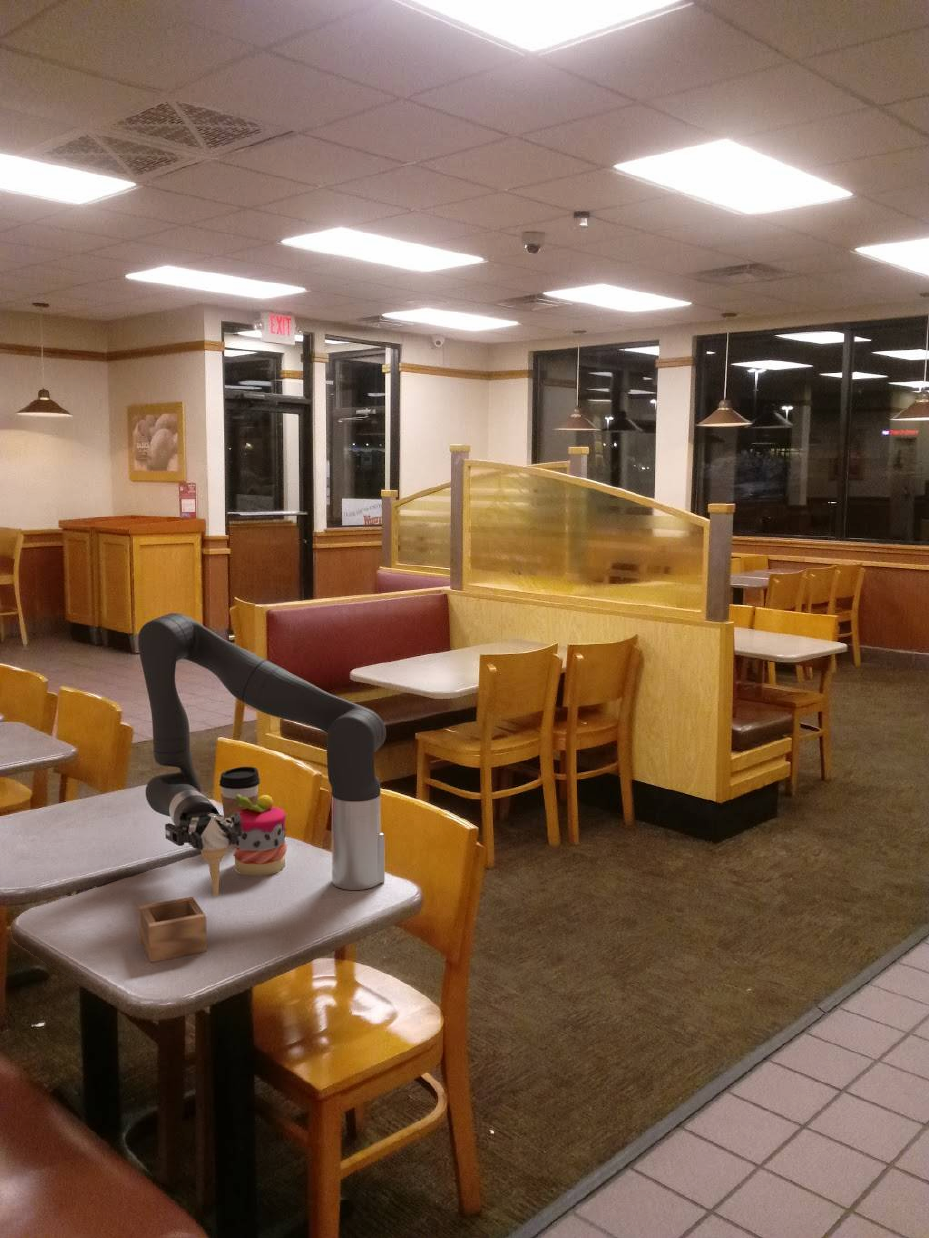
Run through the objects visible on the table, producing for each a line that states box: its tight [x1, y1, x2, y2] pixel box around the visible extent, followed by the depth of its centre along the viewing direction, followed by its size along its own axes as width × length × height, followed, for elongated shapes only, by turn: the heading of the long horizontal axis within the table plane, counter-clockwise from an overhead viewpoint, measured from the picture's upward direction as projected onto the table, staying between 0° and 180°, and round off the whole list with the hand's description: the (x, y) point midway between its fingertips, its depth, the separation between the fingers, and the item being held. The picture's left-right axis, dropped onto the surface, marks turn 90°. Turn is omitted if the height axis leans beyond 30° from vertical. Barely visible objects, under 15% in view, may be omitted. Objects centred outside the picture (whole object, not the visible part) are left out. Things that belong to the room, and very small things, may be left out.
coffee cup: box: [218, 766, 261, 818], centre depth 221 cm, size 8×8×15 cm
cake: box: [232, 794, 288, 877], centre depth 206 cm, size 10×11×15 cm
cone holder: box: [138, 896, 208, 963], centre depth 171 cm, size 9×9×6 cm
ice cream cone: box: [200, 816, 230, 898], centre depth 183 cm, size 6×6×15 cm
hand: (217, 841), depth 181 cm, fingers closed on ice cream cone, 5 cm apart
